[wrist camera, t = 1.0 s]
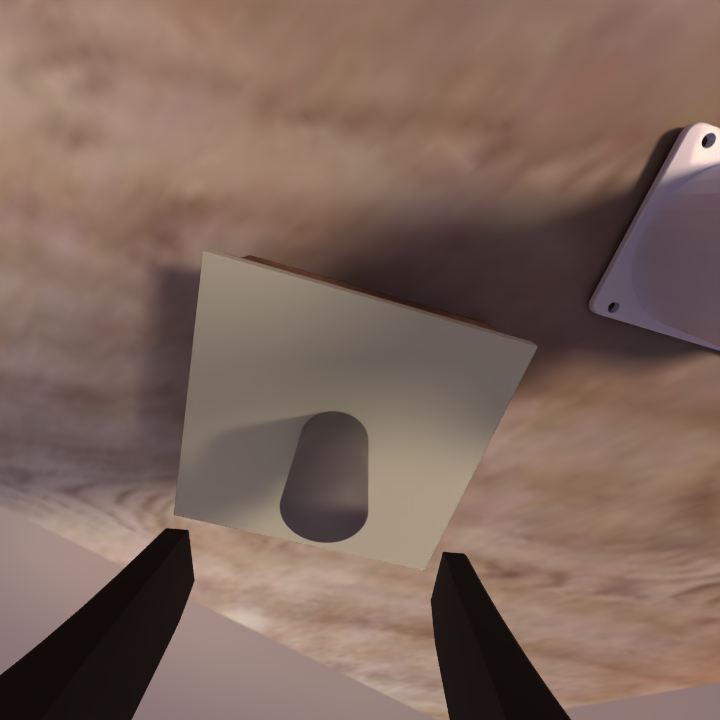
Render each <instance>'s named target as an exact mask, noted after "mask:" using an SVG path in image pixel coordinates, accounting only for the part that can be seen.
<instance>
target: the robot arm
mask: <svg viewBox="0 0 720 720" xmlns="http://www.w3.org/2000/svg"><path fill="white" fill-rule="evenodd" d="M704 136H706V137H707V143H706V145H705V146H704V147H703V146H702V143H701V142H702V139H703V138H704ZM613 302H614V307H613V308H612V309H611V310H609V311H608V306H609V305H610V304H611V303H613ZM589 308H590V310H591V311H592V312H594V313H596V314H599V315H602V316H605V317H609V318H612V319H615V320H619V321H622V322H625V323H629V324H632V325H635V326H639V327H642V328H645V329H649V330H652V331H655V332H659V333H662V334H666V335H669V336H672V337H676V338H679V339H682V340H686V341H689V342H692V343H696V344H699V345H702V346H706V347H709V348H712V349H716V350H719V351H720V128H718V127H716V126H713V125H710V124H707V123H704V122H698V123H694V124H691V125H688V126H687V127H685V128H684V129H683V130H682V131H681V133H680V134H679V136H678V138H677V140H676V141H675V143H674V145H673V147H672V149H671V151H670V153H669V154H668V156H667V158H666V160H665V162H664V164H663V166H662V167H661V169H660V171H659V173H658V175H657V177H656V179H655V180H654V182H653V184H652V186H651V188H650V190H649V192H648V193H647V195H646V197H645V199H644V201H643V203H642V205H641V206H640V208H639V210H638V212H637V214H636V216H635V218H634V219H633V221H632V223H631V225H630V227H629V229H628V231H627V232H626V234H625V236H624V238H623V240H622V242H621V244H620V245H619V247H618V249H617V251H616V253H615V255H614V256H613V258H612V260H611V262H610V264H609V266H608V268H607V269H606V271H605V273H604V275H603V277H602V279H601V281H600V282H599V284H598V286H597V288H596V290H595V292H594V294H593V295H592V297H591V299H590V302H589ZM194 581H195V580H194V572H193V564H192V555H191V547H190V539H189V531H188V530H181V529H169V528H166V529H165V530H164V531H163V532H162V533H161V534H159V535H158V536H157V537H156V538H155V539H154V540H153V541H152V542H151V543H150V544H149V545H148V546H147V547H146V548H145V549H144V550H143V551H142V552H141V553H140V554H139V555H138V556H137V557H136V558H135V559H134V560H133V561H131V562H130V563H129V564H128V565H127V566H126V567H125V568H124V569H123V570H122V571H121V572H120V573H119V574H118V575H117V576H116V577H115V578H113V579H112V580H111V581H110V582H109V583H108V584H107V585H106V586H105V587H104V588H103V589H101V590H100V591H99V592H98V593H97V594H96V595H95V596H94V597H93V598H92V599H90V601H88V603H86V604H85V605H84V606H83V607H82V608H80V609H79V610H78V611H77V612H76V613H75V614H74V615H73V616H71V617H70V618H69V619H68V620H67V621H65V622H64V623H63V624H62V625H61V626H60V627H59V628H57V629H56V630H55V631H54V632H53V633H52V634H50V635H49V636H48V637H47V638H46V639H44V640H43V641H42V642H41V643H40V644H38V645H37V646H36V647H35V648H34V649H32V650H31V651H30V652H29V653H27V654H26V655H25V656H24V657H23V658H21V659H20V660H19V661H18V662H16V663H15V664H14V665H12V666H11V667H10V668H9V669H7V670H6V671H5V672H4V673H2V674H1V675H0V720H131V719H132V718H133V716H134V713H135V712H136V710H137V707H138V705H139V703H140V701H141V699H142V697H143V695H144V693H145V691H146V689H147V687H148V685H149V683H150V681H151V679H152V677H153V675H154V673H155V671H156V669H157V667H158V665H159V663H160V660H161V659H162V656H163V654H164V652H165V650H166V648H167V646H168V644H169V642H170V640H171V638H172V635H173V634H174V632H175V629H176V627H177V625H178V623H179V621H180V618H181V616H182V613H183V610H184V608H185V605H186V602H187V600H188V597H189V594H190V592H191V589H192V586H193V583H194ZM431 607H432V618H433V628H434V637H435V645H436V651H437V656H438V661H439V667H440V672H441V677H442V682H443V687H444V693H445V698H446V703H447V708H448V713H449V718H450V720H571V719H570V717H569V716H568V715H567V713H566V712H565V711H564V709H563V708H562V707H561V705H560V704H559V702H558V701H557V700H556V698H555V697H554V696H553V694H552V693H551V691H550V690H549V688H548V687H547V686H546V684H545V683H544V681H543V680H542V678H541V677H540V675H539V674H538V673H537V671H536V670H535V668H534V667H533V665H532V664H531V662H530V661H529V659H528V658H527V656H526V655H525V653H524V652H523V650H522V649H521V647H520V646H519V644H518V642H517V641H516V639H515V638H514V636H513V634H512V633H511V631H510V630H509V628H508V627H507V625H506V623H505V622H504V620H503V619H502V617H501V615H500V614H499V612H498V610H497V609H496V607H495V605H494V604H493V602H492V600H491V598H490V597H489V595H488V593H487V592H486V590H485V588H484V586H483V585H482V583H481V581H480V579H479V578H478V576H477V574H476V572H475V570H474V569H473V567H472V565H471V563H470V561H469V559H468V557H467V556H466V555H465V554H462V553H450V552H443V554H442V558H441V562H440V566H439V570H438V574H437V578H436V582H435V586H434V590H433V594H432V598H431Z"/></svg>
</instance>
